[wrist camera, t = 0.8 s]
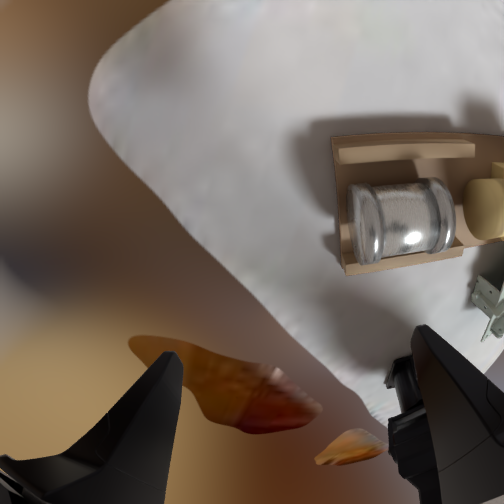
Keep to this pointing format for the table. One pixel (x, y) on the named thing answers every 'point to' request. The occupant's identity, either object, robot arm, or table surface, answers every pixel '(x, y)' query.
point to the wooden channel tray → (421, 166)
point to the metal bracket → (490, 306)
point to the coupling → (400, 219)
